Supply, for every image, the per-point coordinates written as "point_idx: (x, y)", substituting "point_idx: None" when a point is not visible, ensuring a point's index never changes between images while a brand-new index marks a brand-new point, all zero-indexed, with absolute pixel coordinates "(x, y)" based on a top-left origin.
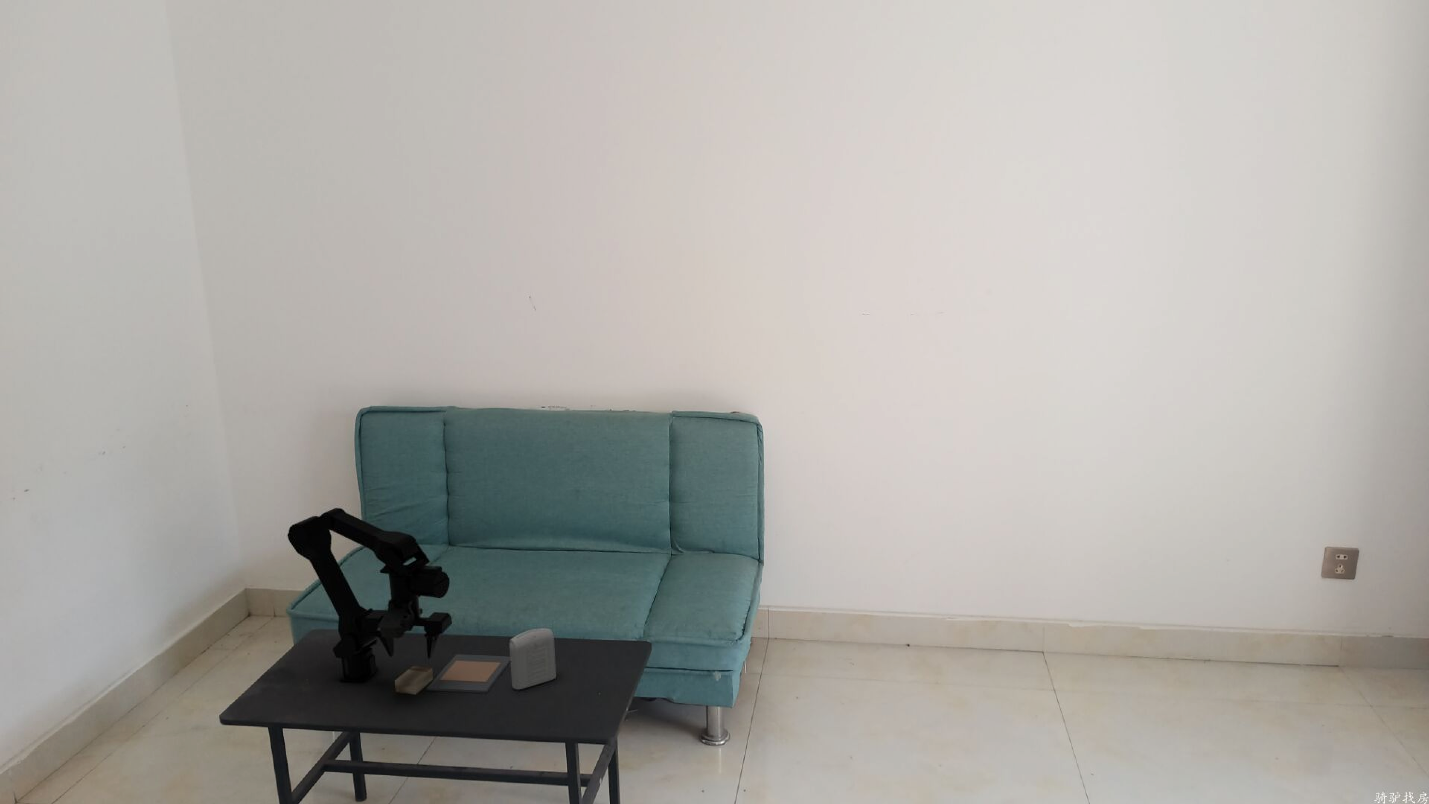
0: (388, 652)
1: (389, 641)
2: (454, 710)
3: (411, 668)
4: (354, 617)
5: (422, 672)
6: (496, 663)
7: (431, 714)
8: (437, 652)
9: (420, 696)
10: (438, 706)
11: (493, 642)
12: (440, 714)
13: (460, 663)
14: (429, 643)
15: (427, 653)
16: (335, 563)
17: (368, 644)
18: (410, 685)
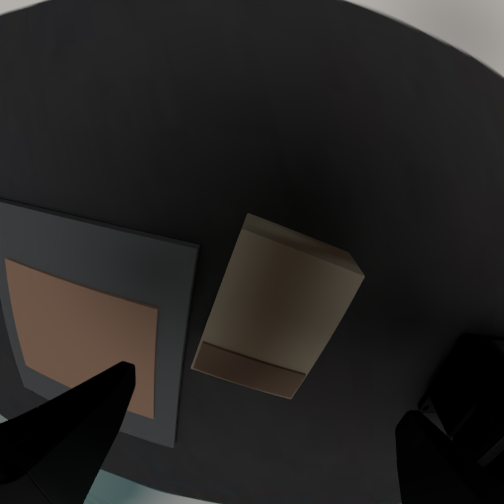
0: (433, 429)
1: (438, 498)
2: (55, 73)
3: (294, 379)
4: None
5: (227, 340)
6: (32, 365)
7: (130, 34)
8: (244, 467)
9: (216, 189)
10: (113, 95)
11: (113, 462)
12: (97, 39)
13: (130, 400)
14: (25, 434)
15: (113, 388)
16: None
17: (490, 462)
18: (268, 233)
